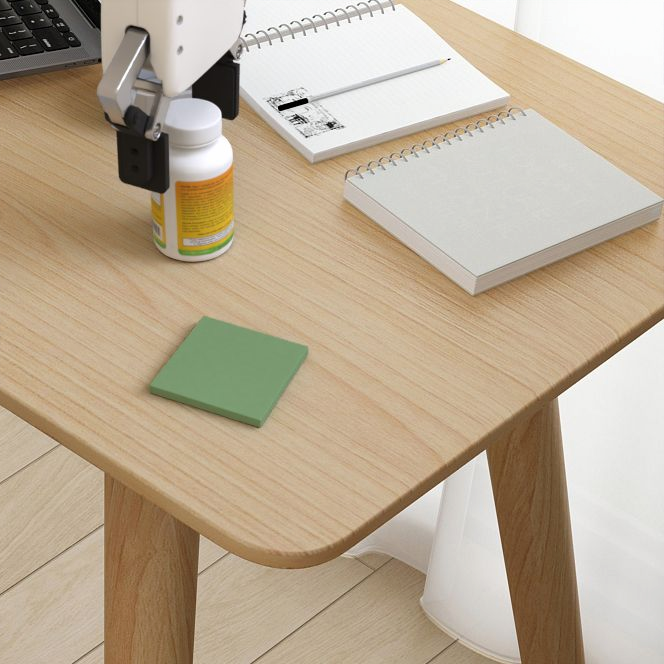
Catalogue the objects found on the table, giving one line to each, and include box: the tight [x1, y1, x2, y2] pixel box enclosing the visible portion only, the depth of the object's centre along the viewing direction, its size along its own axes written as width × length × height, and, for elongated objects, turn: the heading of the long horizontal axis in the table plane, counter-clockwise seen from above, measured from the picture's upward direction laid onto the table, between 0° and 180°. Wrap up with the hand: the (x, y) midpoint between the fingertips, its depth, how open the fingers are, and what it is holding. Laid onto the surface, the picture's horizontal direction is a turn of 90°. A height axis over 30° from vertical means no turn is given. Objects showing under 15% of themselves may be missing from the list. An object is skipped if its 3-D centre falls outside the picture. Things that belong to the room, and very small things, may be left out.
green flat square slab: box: [148, 315, 309, 428], centre depth 70 cm, size 7×7×1 cm
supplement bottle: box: [149, 98, 235, 263], centre depth 77 cm, size 5×5×10 cm
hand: (181, 148), depth 76 cm, fingers open, 9 cm apart
